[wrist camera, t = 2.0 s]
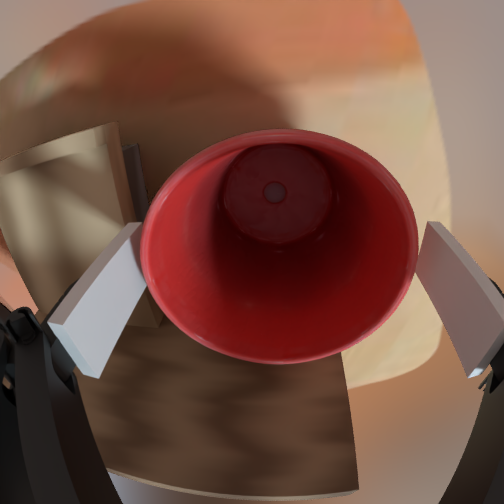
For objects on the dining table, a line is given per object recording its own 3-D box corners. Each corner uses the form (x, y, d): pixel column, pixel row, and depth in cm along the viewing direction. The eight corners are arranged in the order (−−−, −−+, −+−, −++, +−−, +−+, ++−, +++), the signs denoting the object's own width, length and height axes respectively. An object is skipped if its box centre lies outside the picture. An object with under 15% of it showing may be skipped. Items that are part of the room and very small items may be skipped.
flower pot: (199, 103, 16) (127, 120, 7) (371, 129, 16) (457, 173, 7) (194, 247, 21) (152, 347, 13) (336, 265, 21) (364, 370, 13)
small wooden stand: (64, 280, 24) (35, 319, 19) (22, 150, 17) (-26, 174, 12) (176, 285, 23) (154, 338, 18) (143, 114, 16) (93, 128, 11)
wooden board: (68, 295, 25) (-4, 413, 12) (61, 280, 24) (-19, 400, 11) (324, 303, 23) (348, 495, 10) (326, 285, 22) (359, 489, 9)
